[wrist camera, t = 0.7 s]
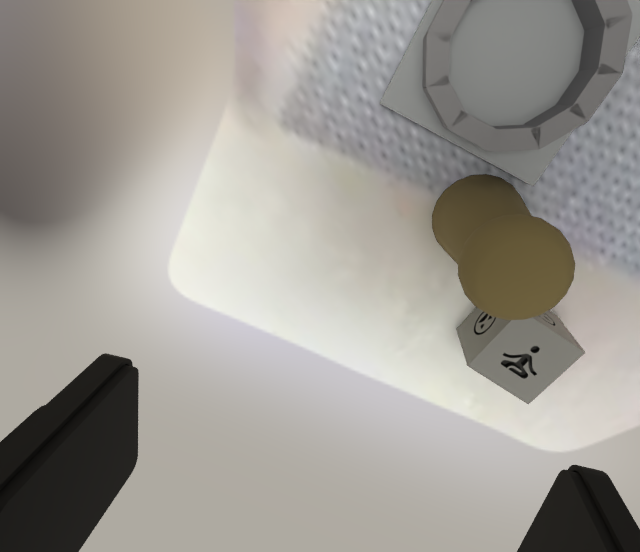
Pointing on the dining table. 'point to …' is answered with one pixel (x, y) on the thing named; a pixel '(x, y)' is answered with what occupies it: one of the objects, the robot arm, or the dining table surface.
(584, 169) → the dining table surface
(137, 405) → the robot arm
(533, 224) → the brown round-headed peg
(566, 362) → the dice cube
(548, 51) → the ring board
